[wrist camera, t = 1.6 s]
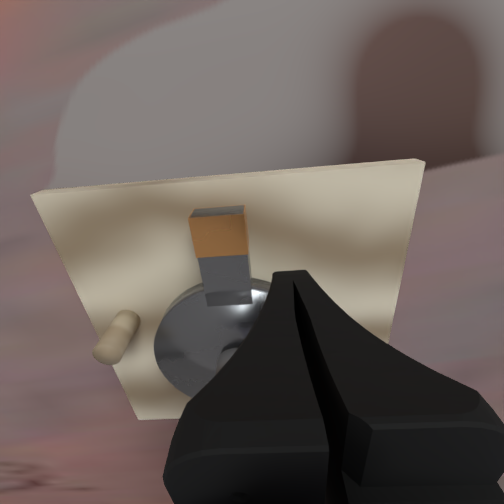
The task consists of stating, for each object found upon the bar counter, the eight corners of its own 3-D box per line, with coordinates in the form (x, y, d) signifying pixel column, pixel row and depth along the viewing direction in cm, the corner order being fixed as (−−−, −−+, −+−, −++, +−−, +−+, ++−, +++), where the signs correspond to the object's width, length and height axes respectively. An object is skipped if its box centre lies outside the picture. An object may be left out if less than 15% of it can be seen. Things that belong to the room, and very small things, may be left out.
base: (369, 400, 24) (403, 490, 18) (142, 408, 25) (109, 495, 19) (414, 158, 14) (514, 193, 9) (43, 189, 15) (-77, 237, 10)
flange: (317, 389, 19) (320, 407, 18) (179, 394, 20) (174, 412, 19) (324, 198, 13) (331, 207, 12) (118, 214, 13) (105, 224, 12)
